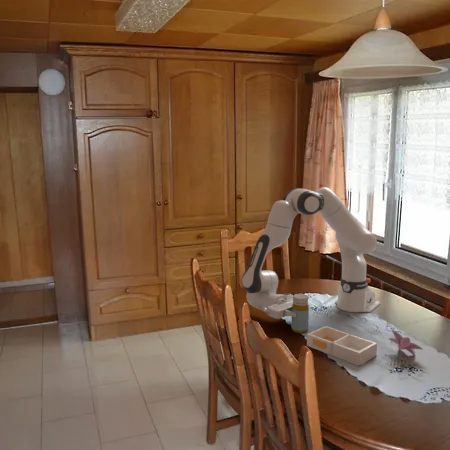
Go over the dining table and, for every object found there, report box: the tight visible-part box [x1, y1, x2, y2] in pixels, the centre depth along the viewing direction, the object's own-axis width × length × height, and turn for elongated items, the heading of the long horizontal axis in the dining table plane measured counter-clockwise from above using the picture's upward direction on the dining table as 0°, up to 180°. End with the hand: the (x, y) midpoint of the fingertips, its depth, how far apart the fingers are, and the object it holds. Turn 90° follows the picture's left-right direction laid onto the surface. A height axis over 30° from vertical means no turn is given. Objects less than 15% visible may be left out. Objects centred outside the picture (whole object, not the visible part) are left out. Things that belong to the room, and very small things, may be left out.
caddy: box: [306, 325, 378, 366], centre depth 180 cm, size 12×23×5 cm, turn 43°
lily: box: [387, 329, 423, 360], centre depth 175 cm, size 12×12×10 cm
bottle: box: [291, 293, 310, 334], centre depth 199 cm, size 7×7×15 cm
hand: (301, 312), depth 198 cm, fingers closed on bottle, 6 cm apart
